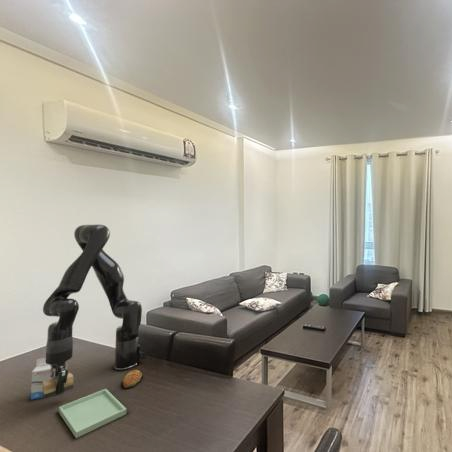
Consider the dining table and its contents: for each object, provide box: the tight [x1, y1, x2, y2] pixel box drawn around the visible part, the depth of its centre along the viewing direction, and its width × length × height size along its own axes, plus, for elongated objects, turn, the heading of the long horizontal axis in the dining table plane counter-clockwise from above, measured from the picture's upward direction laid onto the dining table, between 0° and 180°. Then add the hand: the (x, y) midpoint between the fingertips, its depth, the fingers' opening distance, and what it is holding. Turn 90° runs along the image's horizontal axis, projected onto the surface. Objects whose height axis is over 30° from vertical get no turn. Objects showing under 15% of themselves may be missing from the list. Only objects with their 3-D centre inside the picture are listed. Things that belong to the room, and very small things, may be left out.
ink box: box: [30, 357, 57, 401], centre depth 113 cm, size 8×5×15 cm, turn 123°
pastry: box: [122, 369, 143, 389], centre depth 122 cm, size 9×7×4 cm
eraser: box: [42, 372, 74, 399], centre depth 107 cm, size 8×4×5 cm, turn 147°
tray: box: [58, 388, 127, 439], centre depth 103 cm, size 14×21×2 cm
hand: (58, 390), depth 107 cm, fingers closed on eraser, 4 cm apart
